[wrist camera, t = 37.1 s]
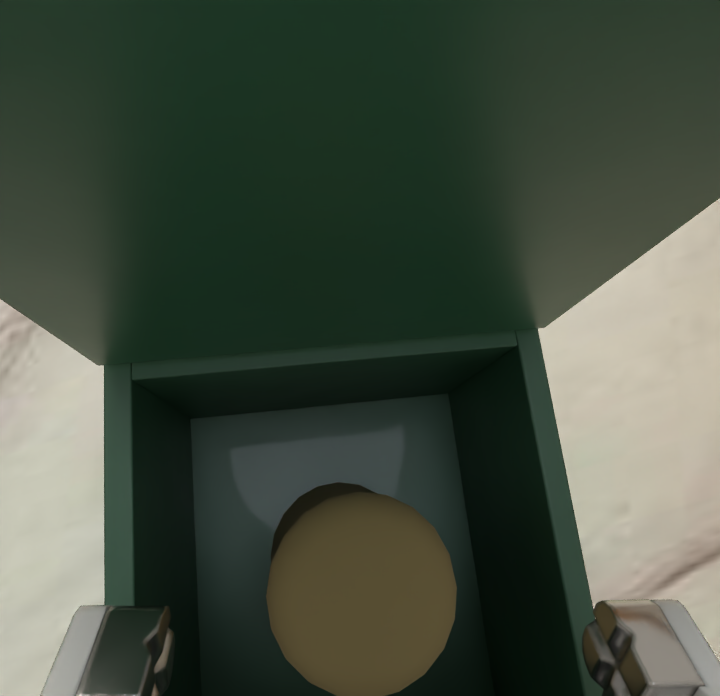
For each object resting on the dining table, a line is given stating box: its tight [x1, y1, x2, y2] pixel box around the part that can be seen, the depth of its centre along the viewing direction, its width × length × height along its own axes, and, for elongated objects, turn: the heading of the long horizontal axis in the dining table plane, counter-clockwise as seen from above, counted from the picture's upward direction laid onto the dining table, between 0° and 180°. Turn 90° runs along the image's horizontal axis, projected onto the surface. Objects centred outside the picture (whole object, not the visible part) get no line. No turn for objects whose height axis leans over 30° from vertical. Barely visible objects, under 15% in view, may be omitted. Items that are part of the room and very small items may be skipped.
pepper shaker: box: [266, 482, 457, 696], centre depth 19 cm, size 6×6×11 cm
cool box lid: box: [0, 0, 720, 365], centre depth 10 cm, size 15×14×5 cm
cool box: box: [104, 328, 603, 696], centre depth 20 cm, size 15×14×10 cm
